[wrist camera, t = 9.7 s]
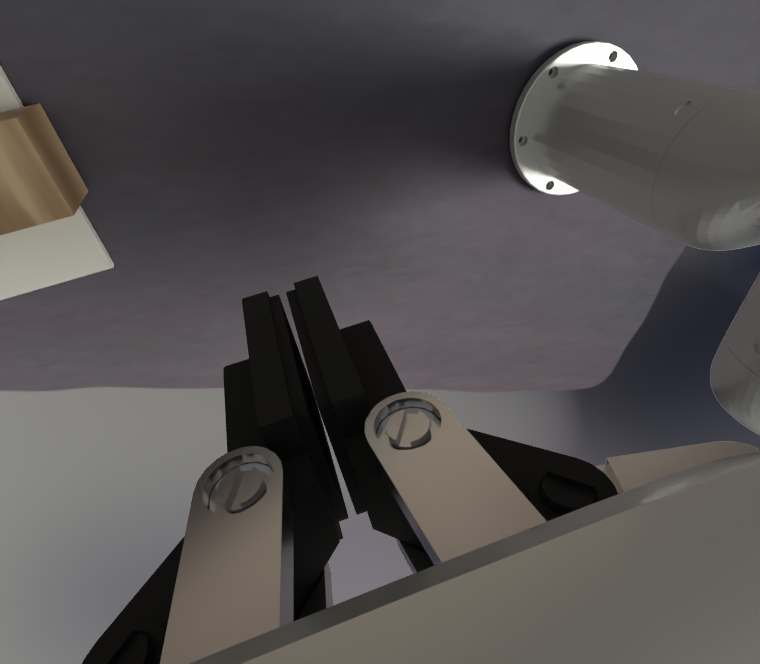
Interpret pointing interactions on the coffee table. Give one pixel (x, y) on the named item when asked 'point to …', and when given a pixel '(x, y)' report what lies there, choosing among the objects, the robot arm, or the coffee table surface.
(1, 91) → the mat
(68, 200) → the brown wooden block
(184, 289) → the coffee table surface
